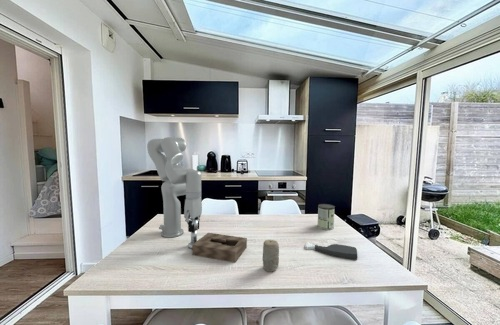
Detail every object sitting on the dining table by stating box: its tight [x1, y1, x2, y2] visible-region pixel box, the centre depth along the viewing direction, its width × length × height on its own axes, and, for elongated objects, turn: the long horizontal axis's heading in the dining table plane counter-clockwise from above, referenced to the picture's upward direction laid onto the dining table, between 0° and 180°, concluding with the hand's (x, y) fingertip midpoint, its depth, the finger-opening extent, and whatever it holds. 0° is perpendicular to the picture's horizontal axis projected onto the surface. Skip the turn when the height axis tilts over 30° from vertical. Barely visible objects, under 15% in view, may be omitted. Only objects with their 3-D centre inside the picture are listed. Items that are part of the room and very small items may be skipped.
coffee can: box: [317, 203, 336, 231], centre depth 149 cm, size 10×10×14 cm
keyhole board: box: [191, 232, 248, 263], centre depth 113 cm, size 22×16×5 cm
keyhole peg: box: [187, 219, 199, 250], centre depth 117 cm, size 6×6×14 cm
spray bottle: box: [304, 241, 358, 261], centre depth 115 cm, size 3×11×24 cm
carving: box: [262, 239, 280, 272], centre depth 97 cm, size 6×8×12 cm
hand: (193, 229), depth 117 cm, fingers closed on keyhole peg, 4 cm apart
